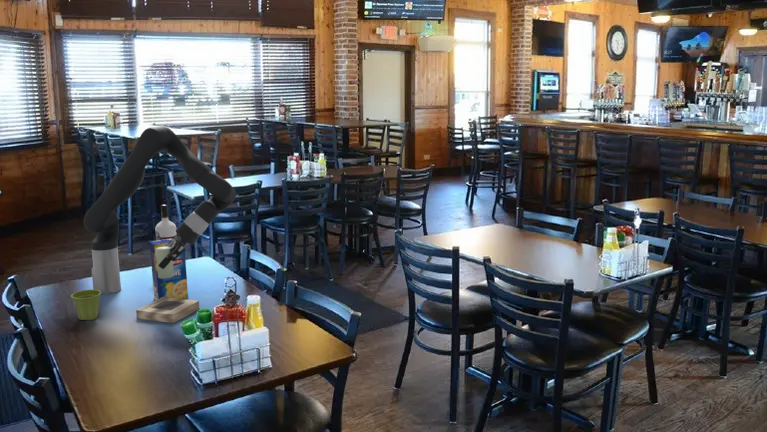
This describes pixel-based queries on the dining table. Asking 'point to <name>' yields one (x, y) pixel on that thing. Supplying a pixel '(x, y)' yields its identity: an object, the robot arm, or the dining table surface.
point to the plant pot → (87, 303)
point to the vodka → (165, 226)
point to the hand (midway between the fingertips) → (159, 265)
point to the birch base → (167, 309)
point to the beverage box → (175, 284)
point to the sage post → (168, 270)
